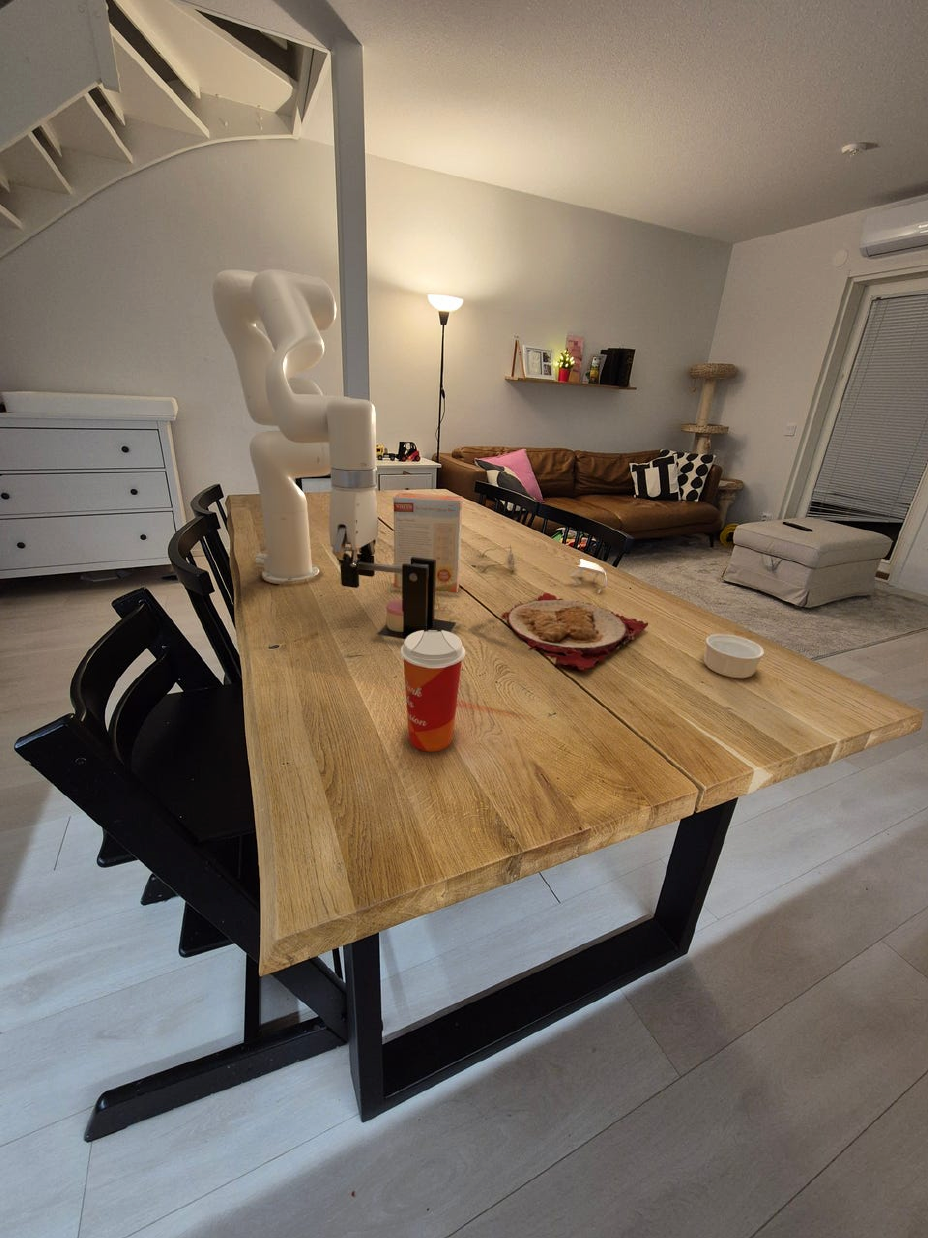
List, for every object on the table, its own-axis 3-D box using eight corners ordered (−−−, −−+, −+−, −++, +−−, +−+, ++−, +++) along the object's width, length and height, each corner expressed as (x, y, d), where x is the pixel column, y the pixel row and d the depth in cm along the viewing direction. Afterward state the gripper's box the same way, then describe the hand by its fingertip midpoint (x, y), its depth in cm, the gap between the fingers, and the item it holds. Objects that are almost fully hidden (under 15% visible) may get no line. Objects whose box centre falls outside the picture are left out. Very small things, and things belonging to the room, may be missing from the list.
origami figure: (558, 581, 122) (560, 562, 120) (581, 575, 127) (584, 557, 125) (597, 597, 113) (600, 577, 111) (620, 591, 118) (624, 571, 116)
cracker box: (459, 587, 115) (464, 495, 107) (456, 596, 110) (461, 500, 101) (399, 582, 116) (399, 490, 108) (393, 591, 111) (392, 495, 102)
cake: (381, 629, 91) (381, 608, 89) (393, 617, 95) (393, 597, 94) (410, 634, 89) (411, 613, 88) (421, 621, 94) (421, 602, 93)
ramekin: (734, 685, 81) (741, 662, 79) (689, 660, 88) (694, 638, 86) (768, 674, 85) (776, 651, 83) (722, 651, 92) (728, 630, 90)
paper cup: (401, 720, 68) (401, 627, 62) (458, 719, 69) (463, 627, 63) (399, 758, 61) (399, 657, 55) (462, 757, 62) (468, 658, 56)
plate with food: (647, 632, 98) (651, 615, 97) (583, 676, 80) (587, 657, 79) (545, 599, 112) (547, 584, 111) (471, 630, 94) (472, 613, 93)
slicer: (376, 640, 89) (375, 566, 83) (398, 618, 98) (398, 550, 92) (441, 651, 86) (443, 575, 81) (457, 628, 95) (460, 558, 90)
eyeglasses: (514, 574, 125) (514, 559, 124) (482, 575, 126) (482, 559, 124) (510, 557, 138) (510, 543, 136) (481, 558, 138) (481, 544, 137)
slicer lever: (345, 575, 88) (344, 562, 87) (359, 566, 93) (359, 553, 92) (421, 584, 85) (421, 571, 84) (431, 574, 90) (431, 561, 89)
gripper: (357, 470, 92) (360, 564, 100) (306, 484, 77) (315, 594, 84) (394, 474, 91) (396, 569, 98) (350, 488, 75) (355, 600, 83)
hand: (358, 579), depth 91 cm, fingers closed on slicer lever, 5 cm apart
